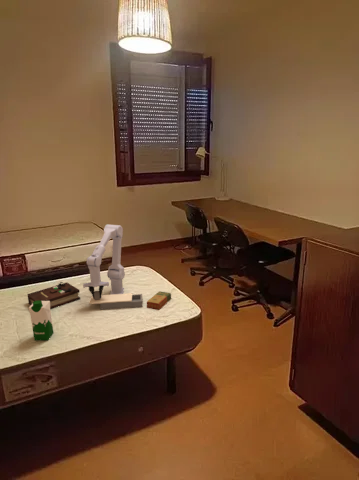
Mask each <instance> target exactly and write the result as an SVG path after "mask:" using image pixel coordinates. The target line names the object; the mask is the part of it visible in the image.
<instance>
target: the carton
mask: <svg viewBox="0 0 359 480" xmlns="http://www.w3.org/2000/svg"><path fill="white" fill-rule="evenodd" d="M171 299H172V294H171V292H166V291H157V293H155V294H154V295H152V297H151V298H149V299H148V300H147V301H146V308H148V309H153V310H154V309H155V310H161V308H162V307H164V306H165V305H166V304H167V303H168V302H169V301H170V300H171Z"/></svg>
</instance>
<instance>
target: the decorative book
mask: <svg viewBox="0 0 359 480" xmlns="http://www.w3.org/2000/svg"><path fill="white" fill-rule="evenodd" d="M79 295H80V289H78V288H77V287H75V286H74V285H72V284H70V283H69V282H63V281H59V283H58V284H57V285H53V286H50V287H46V288H43V289H40V290H37V291H34V292H31V293H27V302H28V305H29V306H31V305H32V303H33V302H34V301H38V300H40V301H50V310H53V309H56V308H59V307H62V306H65V305H68V304H70V303H71V304H72V303H73V302H77V301H79V300H81V296H79ZM58 306H59V307H58Z"/></svg>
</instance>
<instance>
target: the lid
mask: <svg viewBox="0 0 359 480" xmlns="http://www.w3.org/2000/svg"><path fill="white" fill-rule="evenodd" d="M132 295H133V293H132V292H130V293H124V294H113V295H111V294H103V295H101V298H100V293H99V290H94V299H93V296H92V295H91V297H90V300H89V305H97V304H99V305H100V303H115V302H131V301H132Z"/></svg>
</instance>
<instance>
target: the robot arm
mask: <svg viewBox="0 0 359 480" xmlns="http://www.w3.org/2000/svg"><path fill="white" fill-rule="evenodd" d="M103 228H104V229H103V235H102V236H101V240H100V242H99V244H98V245H96V246H95V248H94V250H93V251H92V253H91V255H90V256H88V257H87V258H86V265H87V268H88V270H89V277H90V278H89V279H90V282H84V283H83V284H82V288H83V289H84V288H85V289H86V288H88V291H89V292H90V294H91V297H92V296H93V299H94V291H95V288H97V287H98V291H99V293H100V298H101V295H102V293H103V290H104V287H109V286H110V287H111V288H110V289H111V290H110V295H113V294H125V287H124V286H123V280H124V278H125V275H126V274H125V267H124V266H123V265H122V264H121V262H122V261H121V259H122V257H121V255H122V239H123V237H124V235H123V233H124V228H123V227H122V225H120V224H119V225H118V224H109V223H107V224H105V226H104V227H103ZM111 239H112V251H111V252H112V256H111V258H112V259H111V265H109V266H108V270H107V272H106V273H107V275H106V276H107V278H108V279H109V281H110V282H109V281H101V280H102V278H101V269H100V268H101V267H100V266H101V264H102V259H103V255H104V254H105V251H106V246H107V245H108V243H109V241H110V240H111Z"/></svg>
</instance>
